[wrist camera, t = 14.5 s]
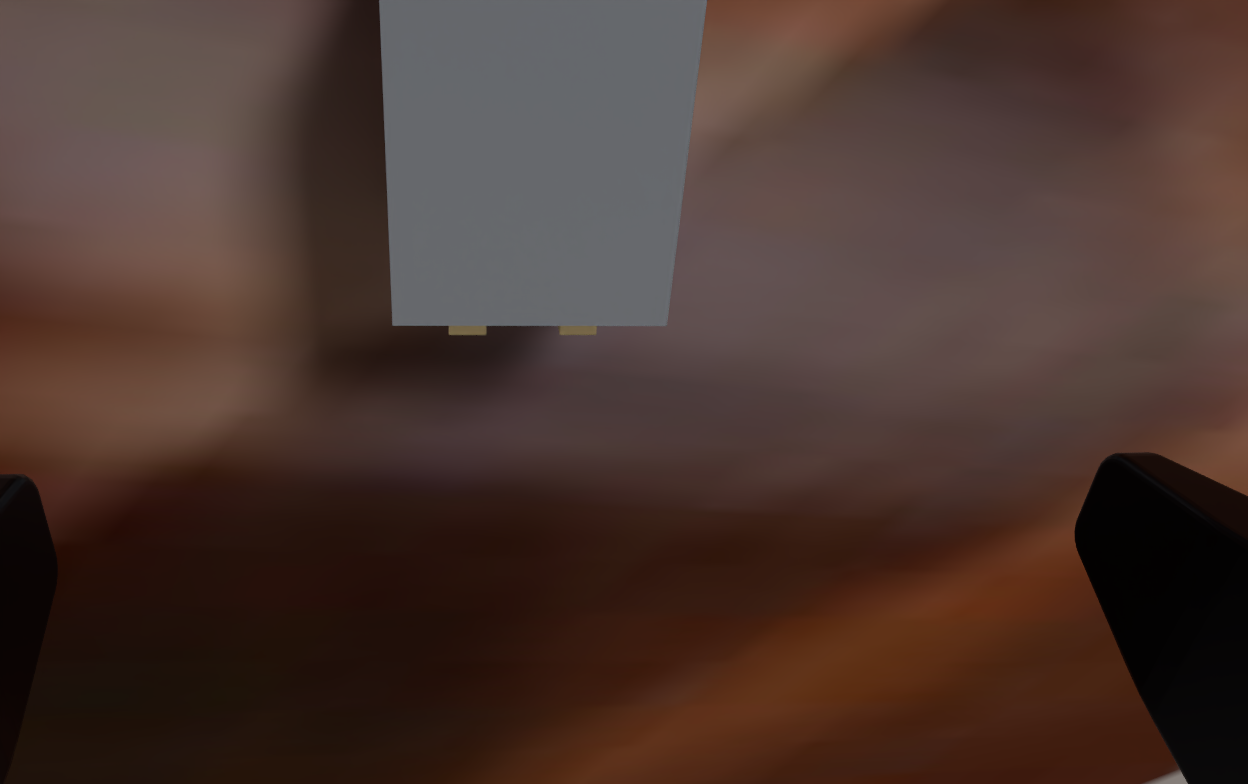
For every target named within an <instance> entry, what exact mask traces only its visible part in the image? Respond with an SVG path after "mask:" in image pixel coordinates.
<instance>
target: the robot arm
mask: <svg viewBox="0 0 1248 784" xmlns="http://www.w3.org/2000/svg"><path fill="white" fill-rule="evenodd" d="M1075 543H1076V548H1077V551H1078V553H1079V556H1080V558H1081V560H1082V563H1083V565H1084V568H1085V570H1086V572H1087V575H1088V577H1089V579H1090V582H1091V584H1092V586H1093V589H1094V591H1095V593H1096V596H1097V598H1098V600H1099V603H1100V605H1101V607H1102V610H1103V612H1104V614H1105V617H1106V619H1107V621H1108V624H1109V626H1110V628H1111V631H1112V633H1113V635H1114V638H1115V640H1116V642H1117V645H1118V647H1119V649H1120V652H1121V654H1122V656H1123V659H1124V661H1125V664H1126V666H1127V668H1128V670H1129V673H1130V675H1131V677H1132V679H1133V681H1134V684H1135V686H1136V688H1137V690H1138V692H1139V694H1140V696H1141V698H1142V700H1143V702H1144V704H1145V706H1146V708H1147V710H1148V712H1149V714H1150V716H1151V718H1152V719H1153V721H1154V723H1155V725H1156V727H1157V729H1158V730H1159V732H1160V734H1161V736H1162V738H1163V739H1164V741H1165V743H1166V745H1167V747H1168V749H1169V750H1170V752H1171V754H1172V756H1173V758H1174V759H1175V761H1176V763H1177V765H1178V767H1179V769H1180V770H1181V772H1182V774H1183V776H1184V777H1185V779H1186V781H1187V783H1188V784H1248V496H1246V495H1244V494H1242V493H1240V492H1238V491H1235V490H1233V489H1231V488H1229V487H1227V486H1225V485H1223V484H1221V483H1218V482H1216V481H1214V480H1212V479H1210V478H1208V477H1206V476H1204V475H1201V474H1199V473H1197V472H1195V471H1193V470H1191V469H1189V468H1187V467H1184V466H1182V465H1180V464H1178V463H1176V462H1174V461H1172V460H1170V459H1167V458H1165V457H1163V456H1161V455H1158V454H1155V453H1149V452H1144V453H1115V454H1112V455H1110V456H1108V457H1107V458H1106V459H1105V460H1104V461H1103V462H1102V463H1101V464H1100V466H1099V468H1098V470H1097V473H1096V475H1095V477H1094V480H1093V482H1092V485H1091V487H1090V489H1089V492H1088V494H1087V497H1086V499H1085V502H1084V504H1083V506H1082V509H1081V511H1080V514H1079V516H1078V518H1077V521H1076V525H1075ZM57 576H58V565H57V557H56V552H55V549H54V545H53V542H52V538H51V534H50V531H49V527H48V524H47V520H46V516H45V513H44V509H43V505H42V502H41V498H40V495H39V492H38V489H37V487H36V485H35V483H34V482H33V480H32V479H30V478H29V477H27V476H25V475H23V474H0V784H4V783H5V780H6V777H7V774H8V771H9V769H10V766H11V762H12V759H13V755H14V751H15V748H16V744H17V741H18V737H19V733H20V729H21V725H22V721H23V717H24V713H25V709H26V705H27V701H28V697H29V693H30V689H31V685H32V681H33V677H34V673H35V669H36V665H37V661H38V657H39V653H40V649H41V645H42V641H43V637H44V633H45V629H46V625H47V621H48V617H49V613H50V609H51V605H52V601H53V598H54V594H55V589H56V584H57Z"/></svg>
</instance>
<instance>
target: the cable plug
mask: <svg viewBox="0 0 1248 784" xmlns="http://www.w3.org/2000/svg"><path fill="white" fill-rule="evenodd" d="M706 4H707V0H379V8H380V32H381V57H382V81H383V106H384V130H385V155H386V179H387V204H388V229H389V253H390V278H391V302H392V326H449V335H486V326H558V328H559V333H560V335H596V328H597V326H667V320H668V312H669V304H670V295H671V287H672V279H673V271H674V263H675V255H676V247H677V239H678V231H679V223H680V215H681V206H682V198H683V190H684V182H685V174H686V166H687V158H688V150H689V142H690V134H691V126H692V117H693V109H694V101H695V93H696V85H697V77H698V69H699V61H700V53H701V45H702V37H703V28H704V20H705V12H706Z"/></svg>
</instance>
